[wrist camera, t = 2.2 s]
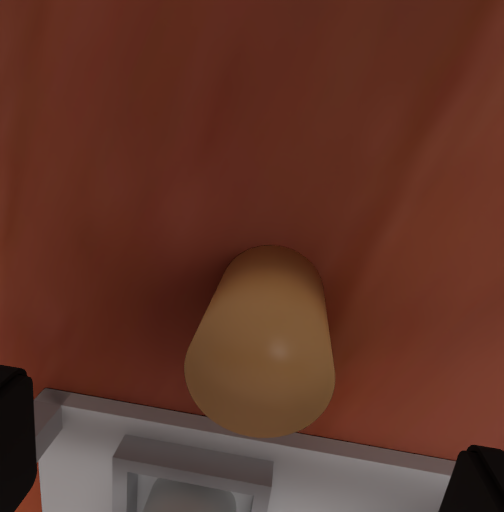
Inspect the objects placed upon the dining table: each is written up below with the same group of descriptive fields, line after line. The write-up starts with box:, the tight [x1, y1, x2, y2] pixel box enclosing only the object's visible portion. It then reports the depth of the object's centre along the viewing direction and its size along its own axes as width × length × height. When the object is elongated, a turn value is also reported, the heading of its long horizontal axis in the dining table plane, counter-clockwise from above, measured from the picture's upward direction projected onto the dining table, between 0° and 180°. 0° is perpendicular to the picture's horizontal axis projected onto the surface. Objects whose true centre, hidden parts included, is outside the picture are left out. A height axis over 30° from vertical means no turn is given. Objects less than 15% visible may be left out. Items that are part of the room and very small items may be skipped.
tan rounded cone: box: [184, 245, 335, 438], centre depth 13 cm, size 4×4×5 cm
